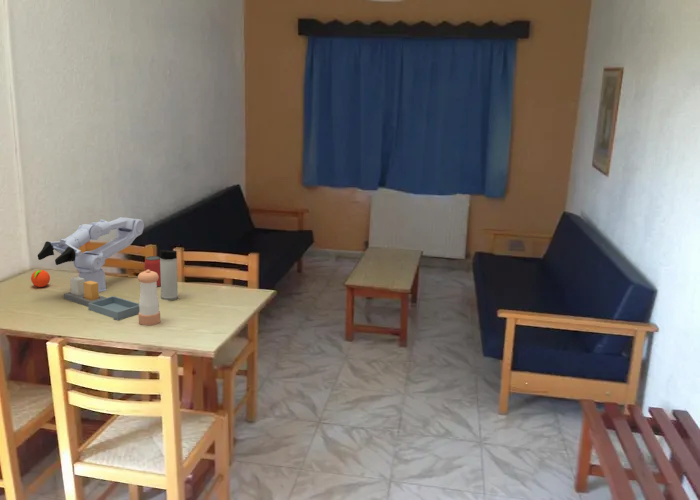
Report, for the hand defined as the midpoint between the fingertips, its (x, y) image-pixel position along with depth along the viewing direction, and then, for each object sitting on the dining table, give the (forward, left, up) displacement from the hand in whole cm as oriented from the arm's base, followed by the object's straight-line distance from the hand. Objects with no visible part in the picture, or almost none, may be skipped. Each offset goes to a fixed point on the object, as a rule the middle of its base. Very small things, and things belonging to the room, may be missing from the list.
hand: (47, 260), depth 227 cm
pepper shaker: (-12, +40, -18) cm, 45 cm away
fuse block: (-11, +5, -18) cm, 22 cm away
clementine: (-12, -24, -18) cm, 33 cm away
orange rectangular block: (-11, +9, -17) cm, 22 cm away
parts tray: (-11, +22, -18) cm, 31 cm away
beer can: (-42, +8, -18) cm, 46 cm away
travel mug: (-34, +26, -18) cm, 46 cm away
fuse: (-11, +1, -17) cm, 21 cm away
